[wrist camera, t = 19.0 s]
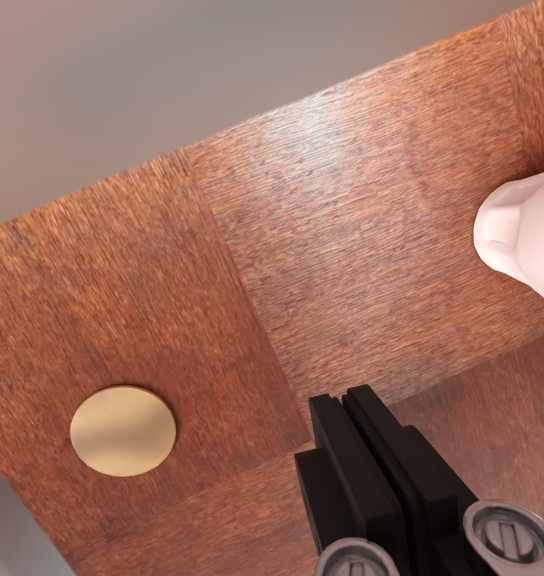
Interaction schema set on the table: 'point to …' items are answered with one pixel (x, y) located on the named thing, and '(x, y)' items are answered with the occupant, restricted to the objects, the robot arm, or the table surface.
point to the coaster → (123, 430)
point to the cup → (514, 230)
